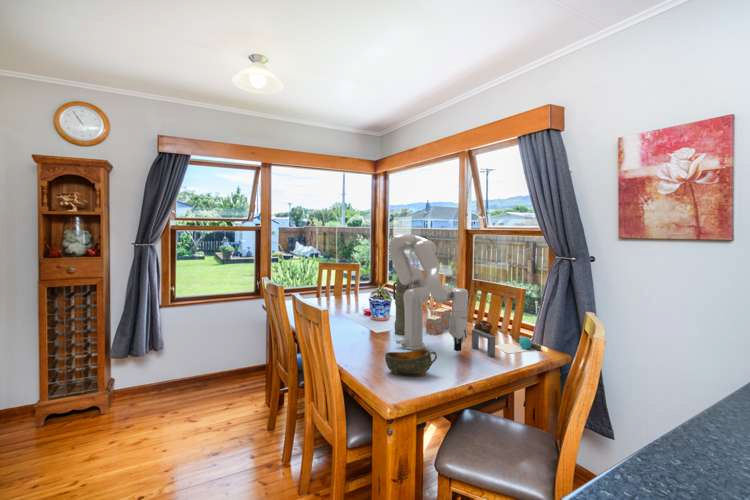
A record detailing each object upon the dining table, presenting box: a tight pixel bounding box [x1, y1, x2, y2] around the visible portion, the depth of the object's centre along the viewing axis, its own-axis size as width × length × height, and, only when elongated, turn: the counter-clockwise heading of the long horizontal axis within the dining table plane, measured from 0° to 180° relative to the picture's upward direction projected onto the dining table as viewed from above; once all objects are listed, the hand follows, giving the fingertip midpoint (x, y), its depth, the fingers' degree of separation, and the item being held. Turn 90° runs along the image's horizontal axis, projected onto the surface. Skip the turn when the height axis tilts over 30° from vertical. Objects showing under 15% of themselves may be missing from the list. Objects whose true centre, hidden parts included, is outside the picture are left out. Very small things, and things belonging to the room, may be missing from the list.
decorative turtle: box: [473, 320, 493, 334], centre depth 220 cm, size 10×15×8 cm, turn 139°
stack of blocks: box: [425, 307, 452, 336], centre depth 228 cm, size 21×6×12 cm, turn 144°
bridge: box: [471, 328, 496, 358], centre depth 187 cm, size 3×15×10 cm, turn 20°
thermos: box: [392, 275, 411, 336], centre depth 220 cm, size 9×12×35 cm
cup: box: [384, 348, 438, 378], centre depth 158 cm, size 13×20×10 cm, turn 56°
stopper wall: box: [515, 336, 542, 352], centre depth 197 cm, size 2×16×2 cm, turn 21°
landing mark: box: [495, 343, 529, 355], centre depth 193 cm, size 13×13×1 cm
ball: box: [518, 336, 532, 350], centre depth 193 cm, size 6×6×6 cm
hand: (457, 350), depth 182 cm, fingers closed
